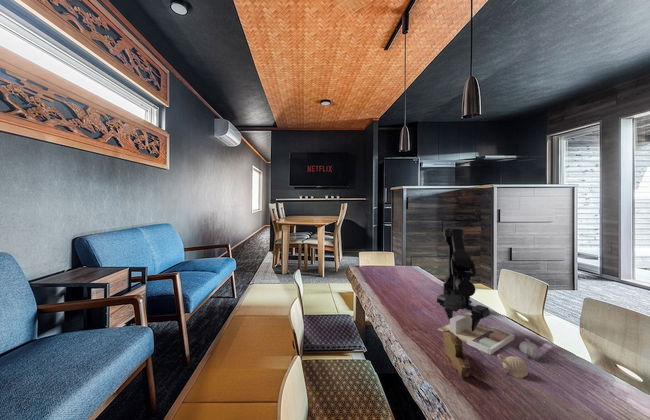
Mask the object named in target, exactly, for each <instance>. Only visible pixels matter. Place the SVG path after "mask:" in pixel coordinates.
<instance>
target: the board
mask: <svg viewBox="0 0 650 420" xmlns="http://www.w3.org/2000/svg"><path fill="white" fill-rule="evenodd" d="M444 330H445V331H448V330H450V323H448V324H446V325H444V326H441V327H439V328H437V331H441V332H442V333H443V331H444ZM490 331H491V329H489V328H487V327H485V326H481V325H479V324H478V325H477V327H476V329H475V330H474V331H472V326H471V327H469V328H467V329H465V330H463V331H461V332H459V333H457V334H455V333H453V334H454V335H455V336H457V337H458V338H460V339H461V341H462V342H464V343H466V344H467V339H469V340H472V341H473V340H475V339H477V338H479V337H481V336H483V335H485V334H486V333H488V332H490Z"/></svg>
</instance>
